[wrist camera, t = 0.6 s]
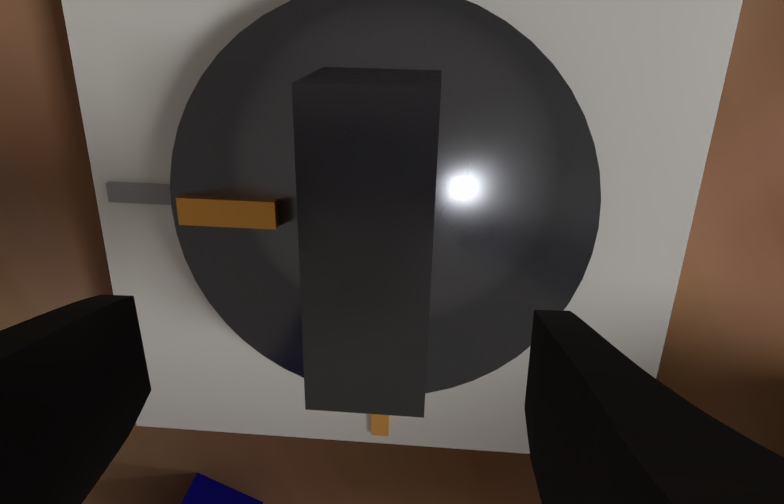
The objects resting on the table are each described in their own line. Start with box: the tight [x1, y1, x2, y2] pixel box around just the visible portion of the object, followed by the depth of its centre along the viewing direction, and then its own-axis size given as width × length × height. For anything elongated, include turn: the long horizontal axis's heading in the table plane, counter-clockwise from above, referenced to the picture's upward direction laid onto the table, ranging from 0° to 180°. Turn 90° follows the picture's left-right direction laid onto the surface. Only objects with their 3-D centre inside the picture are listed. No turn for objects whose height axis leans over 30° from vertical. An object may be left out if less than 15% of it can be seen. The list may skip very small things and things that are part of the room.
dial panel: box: [61, 0, 743, 454], centre depth 18 cm, size 18×18×2 cm
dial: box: [170, 0, 601, 418], centre depth 15 cm, size 12×12×4 cm
